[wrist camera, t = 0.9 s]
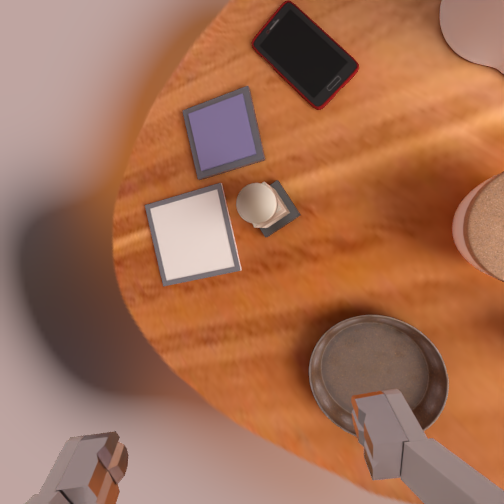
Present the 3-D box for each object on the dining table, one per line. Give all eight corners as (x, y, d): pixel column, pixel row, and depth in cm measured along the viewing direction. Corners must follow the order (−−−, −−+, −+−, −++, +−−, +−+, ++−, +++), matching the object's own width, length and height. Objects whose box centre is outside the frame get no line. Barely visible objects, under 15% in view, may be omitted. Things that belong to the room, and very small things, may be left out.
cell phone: (318, 113, 42) (318, 111, 41) (250, 47, 44) (248, 43, 43) (361, 69, 40) (362, 65, 39) (288, 1, 42) (287, -4, 41)
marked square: (222, 183, 46) (220, 182, 45) (241, 270, 46) (240, 270, 46) (146, 205, 50) (144, 205, 49) (165, 285, 50) (163, 286, 49)
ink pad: (249, 88, 44) (247, 84, 43) (265, 160, 44) (263, 158, 43) (184, 112, 47) (181, 109, 46) (200, 180, 47) (196, 178, 46)
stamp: (279, 181, 44) (262, 166, 33) (300, 215, 43) (291, 210, 33) (246, 204, 45) (221, 196, 35) (267, 237, 45) (247, 239, 34)
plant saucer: (398, 288, 41) (404, 292, 38) (467, 403, 40) (477, 416, 37) (289, 340, 45) (286, 347, 42) (347, 444, 44) (348, 459, 41)
